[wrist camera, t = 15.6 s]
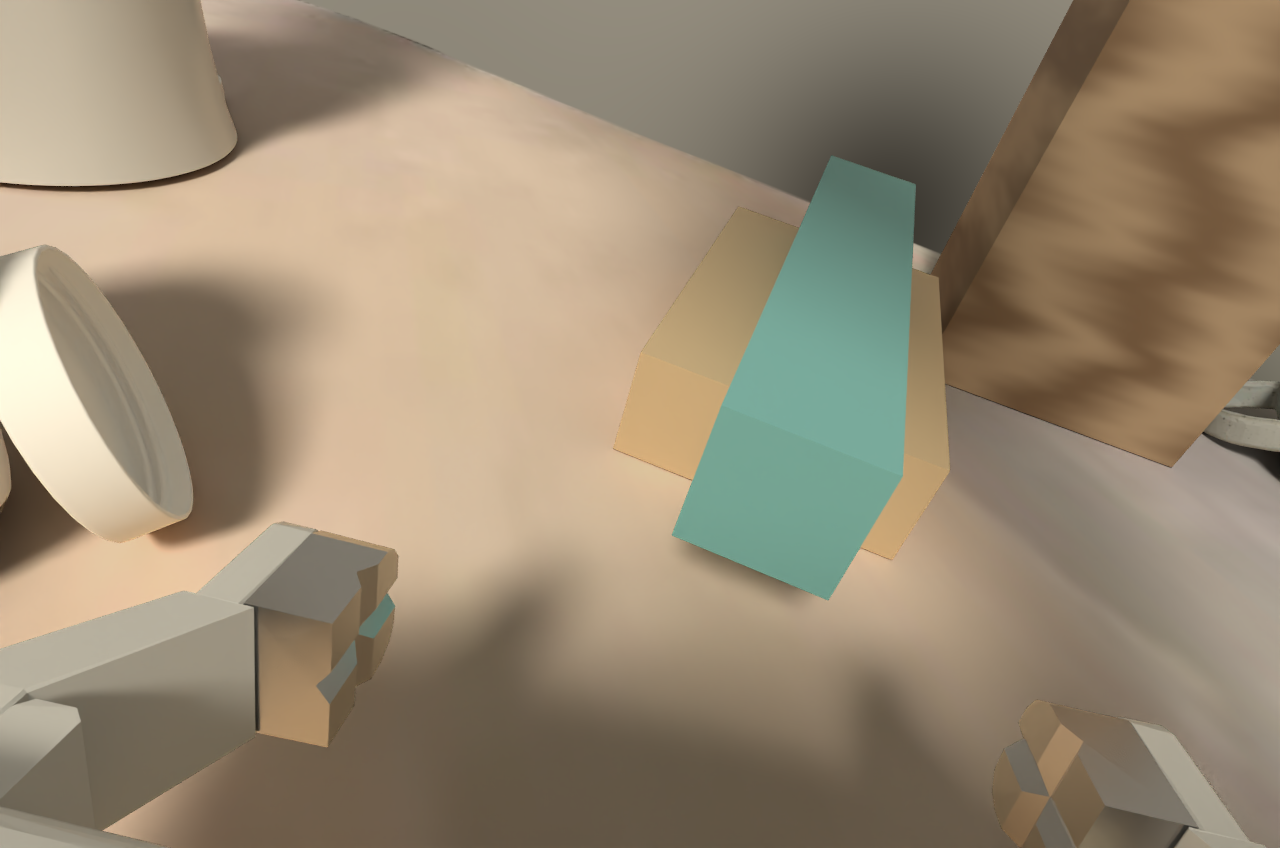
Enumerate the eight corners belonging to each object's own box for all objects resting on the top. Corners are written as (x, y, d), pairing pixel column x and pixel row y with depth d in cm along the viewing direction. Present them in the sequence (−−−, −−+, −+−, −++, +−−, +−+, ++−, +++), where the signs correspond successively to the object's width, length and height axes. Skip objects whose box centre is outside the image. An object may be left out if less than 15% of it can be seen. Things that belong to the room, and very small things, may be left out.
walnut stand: (920, 374, 36) (1349, -392, 21) (920, 294, 44) (1229, -300, 29) (1171, 467, 35) (1822, -275, 20) (1124, 368, 43) (1560, -214, 28)
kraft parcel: (612, 448, 26) (641, 349, 24) (714, 279, 39) (739, 204, 37) (892, 560, 25) (951, 468, 23) (901, 348, 38) (939, 275, 35)
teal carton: (671, 535, 17) (721, 405, 15) (799, 235, 35) (831, 155, 33) (828, 600, 17) (902, 476, 15) (878, 264, 35) (915, 184, 32)
